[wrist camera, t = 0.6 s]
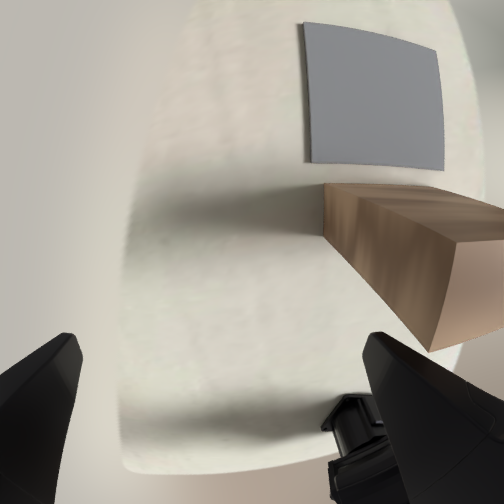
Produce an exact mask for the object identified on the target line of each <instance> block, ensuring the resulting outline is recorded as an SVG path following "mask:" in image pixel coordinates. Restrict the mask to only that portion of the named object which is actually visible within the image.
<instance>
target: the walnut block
mask: <svg viewBox="0 0 504 504" xmlns="http://www.w3.org/2000/svg"><path fill="white" fill-rule="evenodd" d="M323 237H324V238H325V239H326V240H327V241H328V242H329V243H330V244H331V245H332V246H333V247H334V248H335V249H336V250H337V251H338V252H339V253H340V254H341V255H342V256H343V257H344V258H345V260H346V261H347V262H348V263H349V264H350V265H351V266H352V267H353V268H354V269H355V270H356V271H357V272H358V273H359V274H360V275H361V276H362V278H363V279H364V280H365V281H366V282H367V283H368V284H369V285H370V286H371V287H372V288H373V290H374V291H375V292H376V293H377V294H378V295H379V296H380V297H381V298H382V299H383V301H384V302H385V303H386V304H387V305H388V306H389V307H390V308H391V310H392V311H393V312H394V313H395V314H396V315H397V316H398V318H399V319H400V320H401V321H402V322H403V323H404V325H405V326H406V327H407V328H408V329H409V330H410V332H411V333H412V334H413V335H414V336H415V337H416V339H417V340H418V341H419V342H420V343H421V345H422V346H423V347H424V348H425V349H426V351H427V352H428V353H430V352H434V351H437V350H440V349H444V348H447V347H450V346H453V345H457V344H460V343H463V342H466V341H468V340H471V339H474V338H477V337H480V336H482V335H485V334H488V333H490V332H493V331H496V330H498V329H500V328H503V327H504V209H502V208H499V207H496V206H493V205H490V204H487V203H484V202H481V201H478V200H475V199H472V198H469V197H465V196H462V195H459V194H455V193H452V192H448V191H445V190H441V189H438V188H434V187H425V186H408V185H385V184H344V183H324V227H323Z"/></svg>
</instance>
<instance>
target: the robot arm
mask: <svg viewBox="0 0 504 504" xmlns="http://www.w3.org/2000/svg"><path fill="white" fill-rule="evenodd" d="M362 358H363V362H364V366H365V369H366V373H367V376H368V380H369V384H370V387H371V391H372V395H373V396H369V395H350V394H349V395H345V396H344V397H343V398H342V400H341V401H340V402H339V404H338V405H337V406H336V408H335V409H334V410H333V412H332V413H331V414H330V416H329V417H328V418H327V419H326V421H325V422H324V423H323V425H322V426H321V431H333V434H334V437H335V441H336V444H337V447H338V450H339V453H340V456H341V458H339V459H336V460H334V461H333V460H332V461H330V462H328V467H329V468H328V474H329V483H330V498H331V499H332V500H334V501H335V502H336V503H337V504H504V401H503V400H501V399H498V398H497V397H495V396H492V395H491V394H489V393H487V392H485V391H483V390H481V389H479V388H477V387H476V386H474V385H473V384H471V383H469V382H466V381H465V380H464V379H462V378H461V377H459V376H457V375H455V374H454V373H452V372H450V371H449V370H447V369H445V368H444V367H442V366H440V365H438V364H437V363H435V362H433V361H432V360H430V359H428V358H427V357H425V356H423V355H421V354H420V353H418V352H416V351H415V350H413V349H411V348H410V347H408V346H406V345H404V344H403V343H401V342H399V341H398V340H396V339H394V338H393V337H391V336H389V335H387V334H386V333H384V332H372V333H370V335H369V336H368V339H367V342H366V344H365V347H364V350H363V354H362ZM82 362H83V355H82V352H81V349H80V346H79V344H78V341H77V338H76V336H75V335H74V334H72V333H61V334H59V335H58V336H56V337H55V338H53V339H52V340H51V341H49V342H47V343H46V344H44V345H43V346H41V347H40V348H38V349H37V350H36V351H34V352H33V353H31V354H29V355H28V356H27V357H25V358H24V359H22V360H21V361H19V362H18V363H16V364H15V365H13V366H12V367H11V368H9V369H8V370H6V371H5V372H3V373H2V374H1V375H0V504H54V502H55V493H56V487H57V480H58V474H59V469H60V463H61V458H62V452H63V448H64V443H65V439H66V435H67V430H68V426H69V422H70V418H71V414H72V411H73V407H74V403H75V398H76V393H77V387H78V382H79V377H80V371H81V366H82Z"/></svg>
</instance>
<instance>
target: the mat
mask: <svg viewBox="0 0 504 504" xmlns="http://www.w3.org/2000/svg"><path fill="white" fill-rule="evenodd" d="M303 32H304V42H305V54H306V66H307V81H308V98H309V119H310V149H311V163H343V164H368V165H385V166H398V167H410V168H421V169H431V170H440V171H444V116H443V102H442V91H441V82H440V74H439V66H438V60H437V54H436V51H435V50H432V49H429V48H426V47H423V46H420V45H417V44H414V43H411V42H408V41H404V40H401V39H397V38H393V37H390V36H386V35H382V34H377V33H373V32H368V31H364V30H359V29H353V28H348V27H342V26H335V25H328V24H320V23H311V22H304V23H303Z"/></svg>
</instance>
